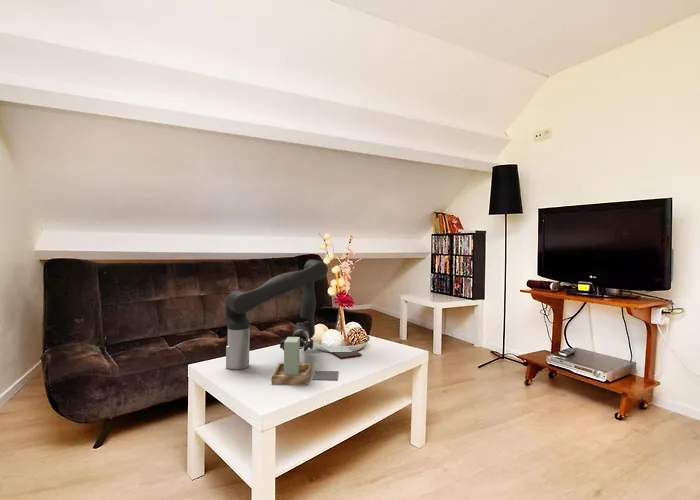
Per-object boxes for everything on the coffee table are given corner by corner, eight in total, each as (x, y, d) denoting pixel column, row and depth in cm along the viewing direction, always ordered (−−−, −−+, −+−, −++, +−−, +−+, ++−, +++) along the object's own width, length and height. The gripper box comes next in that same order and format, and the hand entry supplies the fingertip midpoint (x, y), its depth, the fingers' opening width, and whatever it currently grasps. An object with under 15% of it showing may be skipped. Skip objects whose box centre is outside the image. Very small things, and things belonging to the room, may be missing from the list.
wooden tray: (271, 384, 149) (271, 375, 149) (279, 370, 164) (279, 363, 164) (307, 384, 149) (307, 376, 149) (311, 371, 164) (311, 363, 164)
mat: (312, 380, 154) (312, 379, 154) (315, 371, 164) (315, 370, 164) (337, 380, 154) (337, 379, 154) (338, 371, 164) (338, 371, 164)
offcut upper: (288, 368, 159) (288, 364, 159) (289, 365, 163) (289, 362, 163) (303, 368, 159) (303, 365, 159) (304, 366, 163) (304, 362, 163)
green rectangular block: (283, 379, 151) (284, 342, 150) (287, 372, 159) (287, 336, 158) (296, 380, 151) (296, 342, 150) (299, 372, 159) (299, 337, 158)
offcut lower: (282, 371, 160) (282, 368, 159) (284, 369, 163) (284, 365, 163) (304, 372, 159) (304, 368, 159) (305, 369, 163) (305, 366, 163)
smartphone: (340, 342, 208) (363, 354, 186) (340, 344, 209) (363, 357, 186) (319, 344, 203) (340, 357, 181) (319, 347, 203) (340, 360, 181)
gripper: (284, 330, 177) (277, 339, 161) (315, 330, 177) (311, 340, 161) (284, 346, 177) (277, 357, 161) (315, 346, 177) (311, 357, 161)
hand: (294, 348), depth 161 cm, fingers open, 8 cm apart
